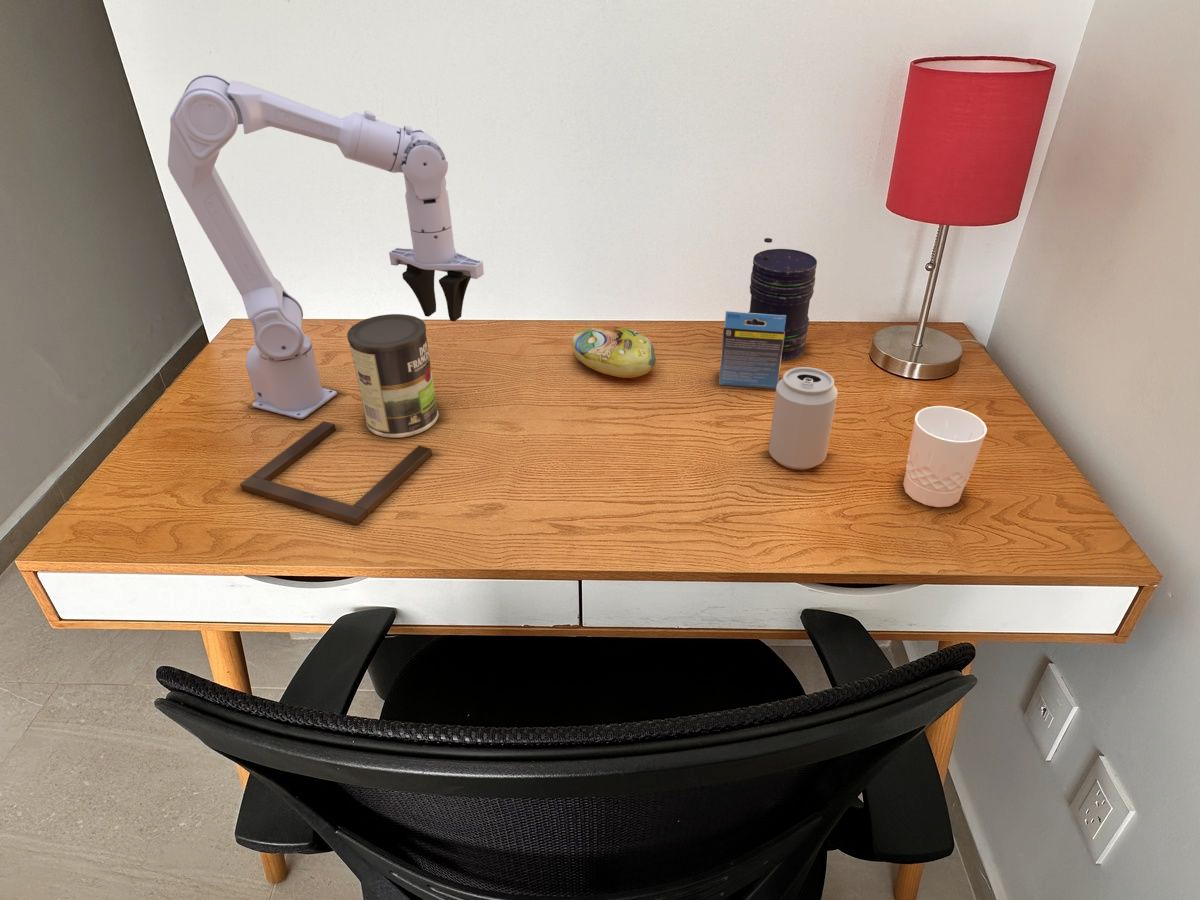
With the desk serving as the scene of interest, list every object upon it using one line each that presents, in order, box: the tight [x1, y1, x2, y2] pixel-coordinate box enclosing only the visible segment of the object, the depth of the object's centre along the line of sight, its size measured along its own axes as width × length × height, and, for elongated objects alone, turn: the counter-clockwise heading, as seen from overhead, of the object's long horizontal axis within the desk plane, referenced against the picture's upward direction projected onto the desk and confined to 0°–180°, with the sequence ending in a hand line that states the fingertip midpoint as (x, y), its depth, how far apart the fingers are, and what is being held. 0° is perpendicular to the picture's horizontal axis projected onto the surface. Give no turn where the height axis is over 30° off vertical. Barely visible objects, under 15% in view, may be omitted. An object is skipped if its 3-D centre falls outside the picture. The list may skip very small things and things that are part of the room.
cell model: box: [571, 325, 657, 379], centre depth 125 cm, size 11×8×15 cm
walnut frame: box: [239, 420, 433, 526], centre depth 103 cm, size 18×16×1 cm
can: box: [768, 366, 839, 471], centre depth 102 cm, size 8×8×12 cm
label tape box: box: [718, 310, 786, 390], centre depth 118 cm, size 9×4×12 cm, turn 80°
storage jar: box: [745, 237, 818, 362], centre depth 126 cm, size 10×10×18 cm
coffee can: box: [346, 313, 440, 439], centre depth 110 cm, size 10×10×14 cm
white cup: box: [902, 405, 988, 508], centre depth 96 cm, size 8×8×10 cm
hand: (443, 316), depth 118 cm, fingers open, 4 cm apart
